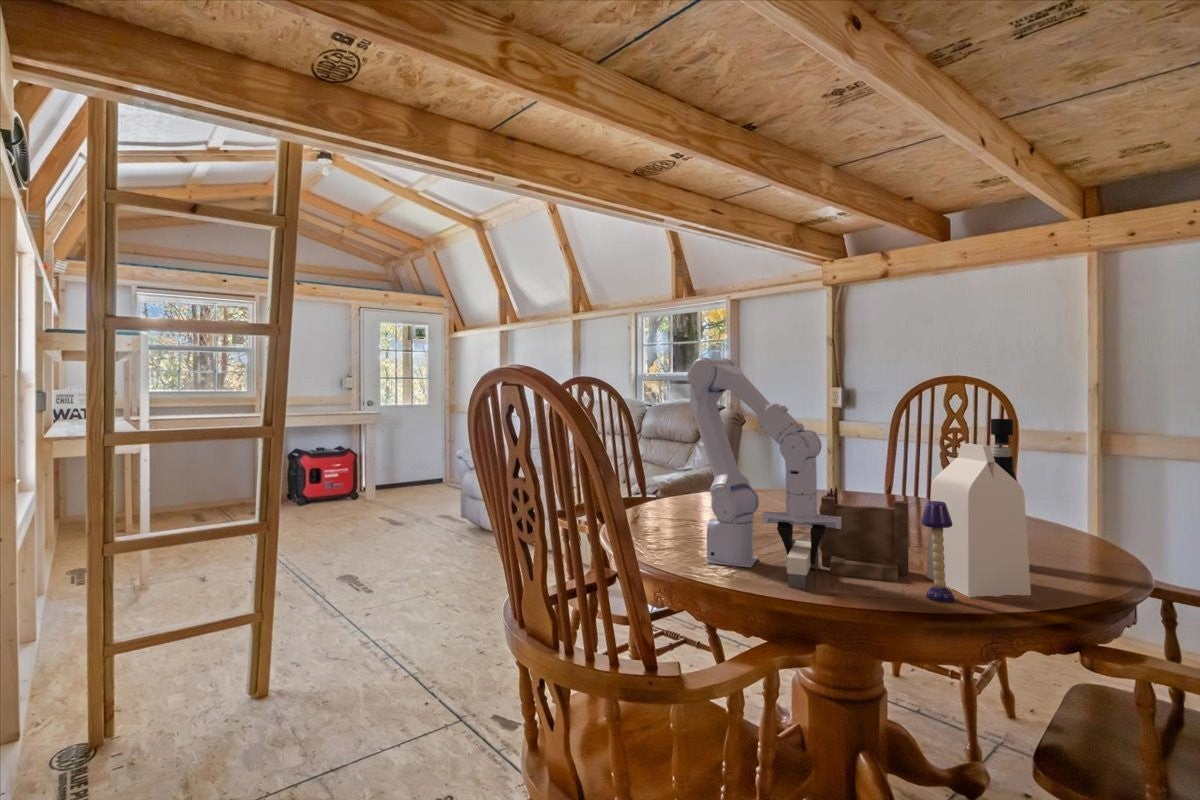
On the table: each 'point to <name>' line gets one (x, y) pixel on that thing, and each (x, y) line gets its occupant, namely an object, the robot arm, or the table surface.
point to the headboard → (866, 540)
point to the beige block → (799, 563)
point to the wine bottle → (1003, 454)
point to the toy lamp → (938, 548)
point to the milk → (982, 526)
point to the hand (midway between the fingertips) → (801, 562)
